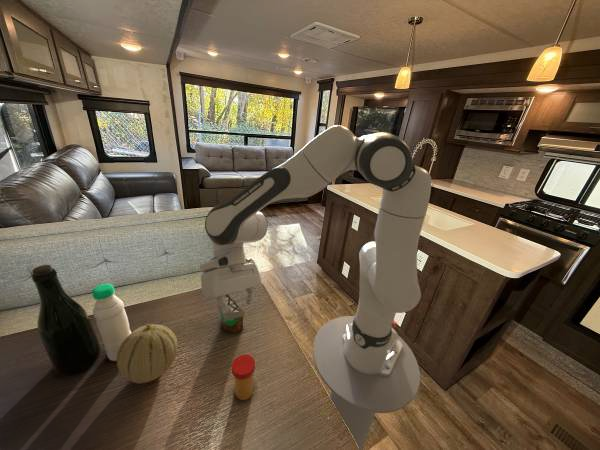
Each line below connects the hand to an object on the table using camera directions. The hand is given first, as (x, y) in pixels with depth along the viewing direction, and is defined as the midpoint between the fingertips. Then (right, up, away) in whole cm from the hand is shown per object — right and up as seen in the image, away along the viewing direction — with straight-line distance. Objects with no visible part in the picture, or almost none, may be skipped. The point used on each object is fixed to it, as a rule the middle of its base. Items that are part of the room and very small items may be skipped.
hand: (239, 308), depth 70 cm
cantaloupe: (-26, -19, +3) cm, 33 cm away
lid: (+2, -13, -5) cm, 15 cm away
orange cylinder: (+2, -23, -1) cm, 23 cm away
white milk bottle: (-39, -16, +7) cm, 43 cm away
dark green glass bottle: (-49, -17, +3) cm, 52 cm away
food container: (-9, -13, +20) cm, 25 cm away
